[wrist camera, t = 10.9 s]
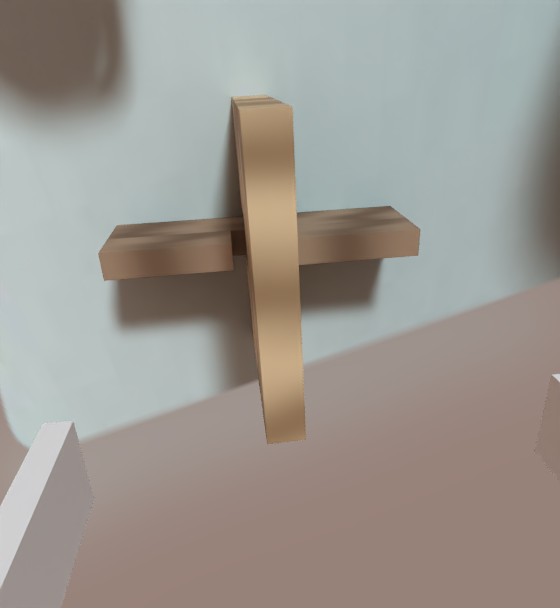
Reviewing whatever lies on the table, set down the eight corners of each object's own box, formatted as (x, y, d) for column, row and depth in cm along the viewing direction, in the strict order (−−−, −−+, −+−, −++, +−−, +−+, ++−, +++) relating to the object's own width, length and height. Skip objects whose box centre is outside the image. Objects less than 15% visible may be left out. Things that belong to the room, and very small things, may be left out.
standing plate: (390, 206, 33) (420, 228, 28) (388, 229, 34) (417, 255, 29) (116, 225, 32) (98, 253, 27) (121, 249, 33) (103, 280, 28)
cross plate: (279, 331, 36) (305, 439, 26) (252, 333, 36) (267, 444, 25) (265, 94, 30) (292, 106, 19) (231, 97, 29) (239, 110, 19)
